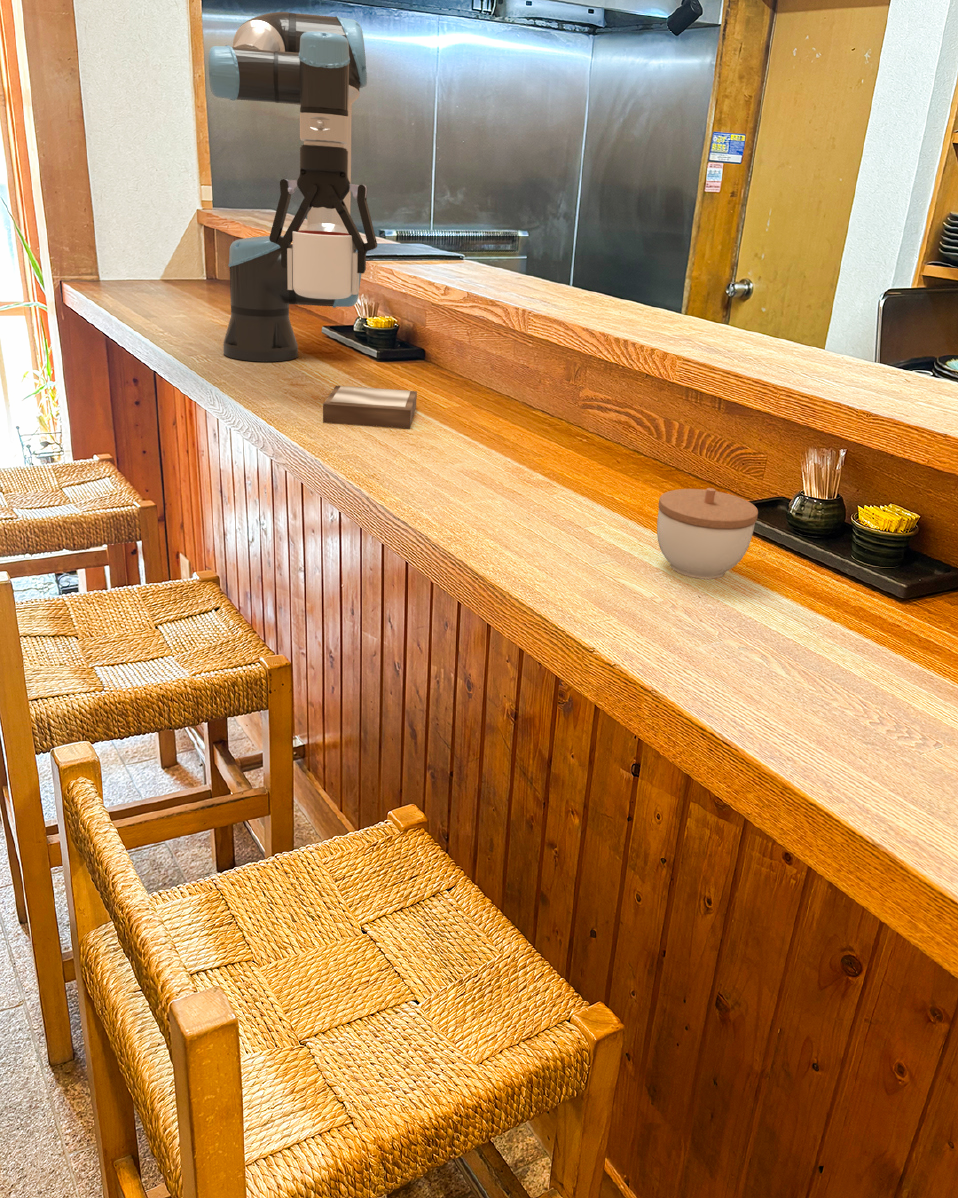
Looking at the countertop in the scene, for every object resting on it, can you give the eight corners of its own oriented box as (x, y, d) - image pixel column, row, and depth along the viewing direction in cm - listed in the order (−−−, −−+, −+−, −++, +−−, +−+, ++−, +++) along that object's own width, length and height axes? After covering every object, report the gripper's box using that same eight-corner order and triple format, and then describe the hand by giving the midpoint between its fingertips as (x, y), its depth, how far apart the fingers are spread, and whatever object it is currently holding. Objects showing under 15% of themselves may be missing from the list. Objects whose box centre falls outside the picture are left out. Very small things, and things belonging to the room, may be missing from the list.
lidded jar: (762, 571, 111) (778, 492, 107) (715, 596, 104) (731, 512, 100) (680, 544, 117) (693, 469, 113) (631, 565, 110) (642, 486, 106)
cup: (341, 302, 158) (341, 236, 154) (283, 296, 160) (282, 231, 156) (361, 296, 167) (362, 234, 163) (306, 291, 169) (306, 229, 165)
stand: (335, 402, 170) (335, 383, 169) (416, 408, 170) (416, 389, 169) (322, 422, 157) (323, 402, 156) (409, 428, 158) (410, 408, 156)
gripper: (246, 138, 151) (250, 288, 160) (392, 149, 151) (388, 298, 160) (258, 140, 158) (261, 284, 167) (397, 150, 158) (393, 293, 167)
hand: (323, 291), depth 163 cm, fingers closed on cup, 10 cm apart
